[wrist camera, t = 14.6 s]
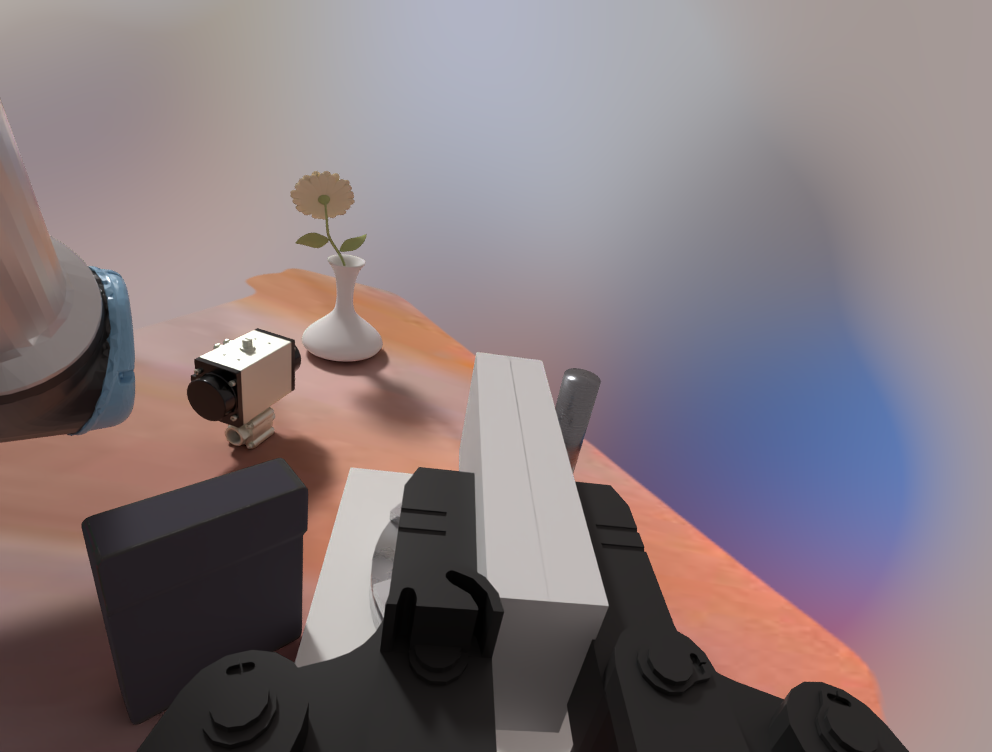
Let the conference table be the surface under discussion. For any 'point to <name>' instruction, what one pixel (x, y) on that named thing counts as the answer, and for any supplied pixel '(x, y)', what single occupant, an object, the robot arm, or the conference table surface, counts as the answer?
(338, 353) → the flower in vase
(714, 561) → the conference table surface
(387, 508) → the base plate
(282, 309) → the conference table surface
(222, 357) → the pneumatic valve
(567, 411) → the round disc with peg
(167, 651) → the black upright block
